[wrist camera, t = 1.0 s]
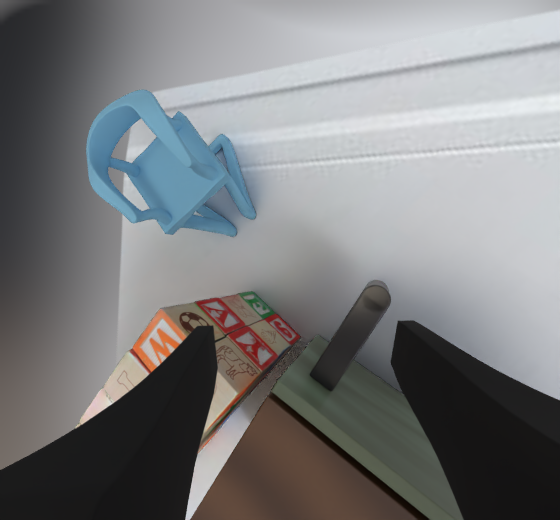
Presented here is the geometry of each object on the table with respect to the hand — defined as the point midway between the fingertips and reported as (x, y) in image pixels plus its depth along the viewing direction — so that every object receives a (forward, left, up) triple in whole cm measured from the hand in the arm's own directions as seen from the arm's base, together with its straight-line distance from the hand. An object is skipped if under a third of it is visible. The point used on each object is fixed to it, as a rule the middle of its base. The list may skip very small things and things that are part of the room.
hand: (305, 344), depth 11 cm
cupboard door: (-7, +1, -14) cm, 15 cm away
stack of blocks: (+6, +15, -14) cm, 21 cm away
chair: (+15, -2, -14) cm, 21 cm away
